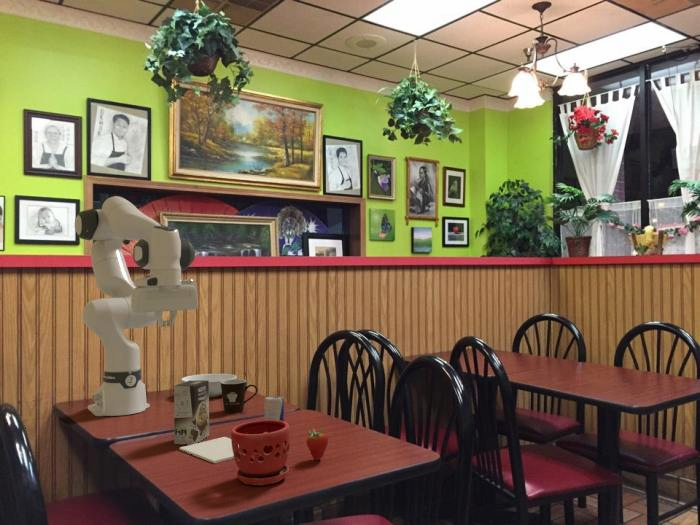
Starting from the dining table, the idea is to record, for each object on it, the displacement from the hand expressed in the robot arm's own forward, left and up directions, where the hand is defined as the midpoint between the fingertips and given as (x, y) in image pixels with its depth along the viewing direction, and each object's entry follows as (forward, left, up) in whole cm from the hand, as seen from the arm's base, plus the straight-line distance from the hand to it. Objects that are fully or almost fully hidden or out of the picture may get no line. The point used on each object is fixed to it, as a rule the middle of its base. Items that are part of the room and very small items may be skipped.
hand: (166, 326), depth 178 cm
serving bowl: (-38, +38, -31) cm, 62 cm away
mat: (+28, 0, -31) cm, 42 cm away
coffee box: (+14, 0, -31) cm, 34 cm away
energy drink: (+32, +15, -31) cm, 47 cm away
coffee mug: (-6, +29, -31) cm, 43 cm away
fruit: (+53, +12, -31) cm, 63 cm away
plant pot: (+54, -6, -31) cm, 63 cm away
